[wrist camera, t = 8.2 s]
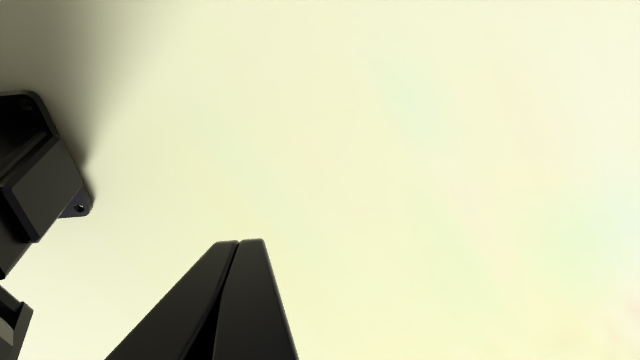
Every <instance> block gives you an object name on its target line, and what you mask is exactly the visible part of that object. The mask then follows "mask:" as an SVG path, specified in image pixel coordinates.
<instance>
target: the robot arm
mask: <svg viewBox="0 0 640 360" xmlns="http://www.w3.org/2000/svg"><path fill="white" fill-rule="evenodd" d="M25 100H27V101H29V102H30V103H31V104H32V106H29V105H28V104H27V103H26V102H25ZM78 204H79V205H82V206H83V207H81V206H79V205H78ZM92 208H93V203H92V201H91V199H90V197H89V195H88V192H87V190H86V188H85V186H84V184H83V181H82V178H81V176H80V174H79V172H78V170H77V168H76V166H75V164H74V162H73V160H72V158H71V156H70V154H69V152H68V150H67V148H66V146H65V144H64V142H63V140H62V138H61V137H60V135H59V133H58V131H57V129H56V127H55V125H54V123H53V121H52V119H51V117H50V115H49V113H48V111H47V109H46V107H45V105H44V103H43V101H42V99H41V98H40V96H39V95H38V94H36V93H35V92H33V91H30V90H22V91H11V92H1V93H0V280H3V279H5V278H6V276H7V275H8V274H9V272H10V271H11V270H12V269H13V267H14V266H15V265H16V264H17V262H18V261H19V260H20V258H21V257H22V256H23V255H24V253H25V252H26V251H27V250H28V248H29V247H30V246H31V244H32V243H38V242H39V241H40V240H41V239H42V238H43V236H44V235H45V234H46V232H47V231H48V230H49V228H50V227H51V226H52V225H53V223H54V222H55V221H56V219H57V218H69V217H82V216H87V215H88V214H89V213H90V211H91V210H92ZM32 314H33V309H31V308H30V307H29V306H28V305H27V304H26V303H25V302H19V301H18V300H17V299H16V298H15V297H14V296H12V295H11V294H10V293H9V292H8V291H7V290H6V289H4V288H3V287H2V286H1V285H0V360H17V359H18V356H19V353H20V350H21V347H22V344H23V341H24V338H25V335H26V332H27V329H28V326H29V323H30V320H31V317H32ZM105 360H299V358H298V354H297V351H296V348H295V344H294V341H293V337H292V334H291V331H290V327H289V324H288V320H287V317H286V314H285V310H284V307H283V303H282V300H281V297H280V293H279V290H278V286H277V283H276V280H275V276H274V273H273V269H272V266H271V263H270V259H269V256H268V252H267V249H266V246H265V242H264V240H263V239H260V238H259V239H246V240H242V241H241V242H238V241H237V240H232V241H219V242H216V243H214V244H213V245H212V246H211V247H210V248H209V249H208V250H207V252H206V253H205V254H204V255H203V256H202V257H201V258H200V259H199V260H198V261H197V262H196V263H195V264H194V265H193V266H192V267H191V268H190V270H189V271H188V272H187V273H186V274H185V275H184V276H183V277H182V278H181V279H180V280H179V281H178V282H177V283H176V284H175V285H174V286H173V288H172V289H171V290H170V291H169V292H168V293H167V294H166V295H165V296H164V297H163V298H162V299H161V300H160V301H159V302H158V303H157V304H156V306H155V307H154V308H153V309H152V310H151V311H150V312H149V313H148V314H147V315H146V316H145V317H144V318H143V319H142V320H141V321H140V323H139V324H138V325H137V326H136V327H135V328H134V329H133V330H132V331H131V332H130V333H129V334H128V335H127V336H126V337H125V338H124V339H123V341H122V342H121V343H120V344H119V345H118V346H117V347H116V348H115V349H114V350H113V351H112V352H111V353H110V354H109V355H108V356H107V357H106V359H105Z"/></svg>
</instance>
